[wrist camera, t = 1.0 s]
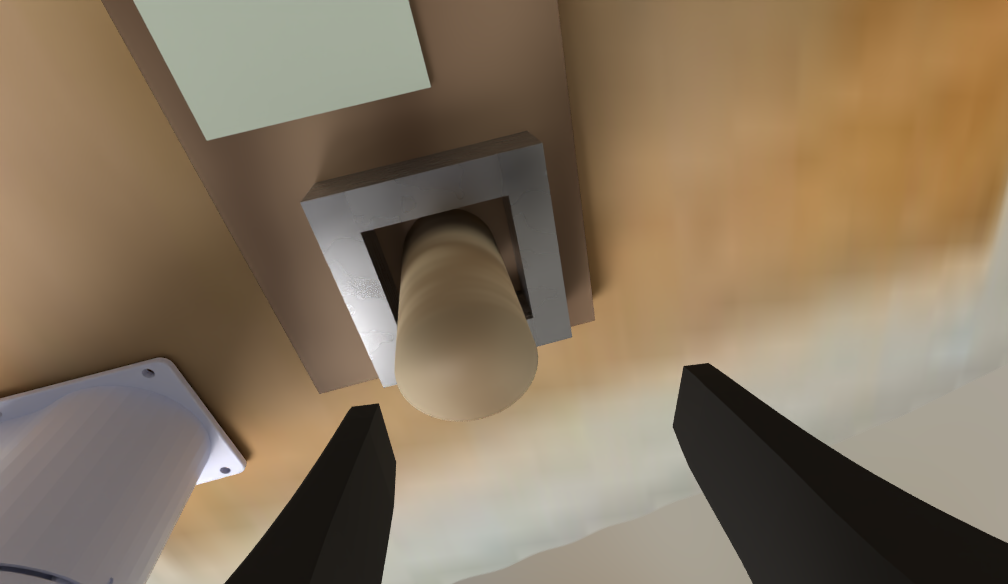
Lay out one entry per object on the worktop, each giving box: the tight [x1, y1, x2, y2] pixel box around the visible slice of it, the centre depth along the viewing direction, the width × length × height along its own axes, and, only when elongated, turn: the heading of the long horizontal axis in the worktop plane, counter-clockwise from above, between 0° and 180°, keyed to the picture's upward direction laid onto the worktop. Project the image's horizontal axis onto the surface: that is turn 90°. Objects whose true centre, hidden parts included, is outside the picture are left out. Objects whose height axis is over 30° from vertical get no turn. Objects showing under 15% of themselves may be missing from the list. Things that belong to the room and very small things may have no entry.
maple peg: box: [394, 209, 538, 421], centre depth 16 cm, size 4×4×8 cm
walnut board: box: [101, 0, 595, 394], centre depth 18 cm, size 14×21×2 cm, turn 11°
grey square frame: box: [300, 131, 572, 388], centre depth 18 cm, size 8×8×2 cm
